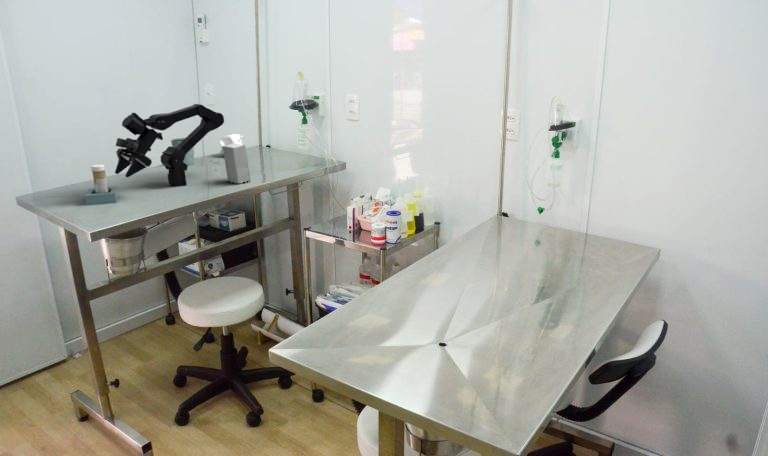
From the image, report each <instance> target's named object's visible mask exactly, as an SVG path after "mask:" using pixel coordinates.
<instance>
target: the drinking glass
mask: <svg viewBox="0 0 768 456" xmlns="http://www.w3.org/2000/svg"><path fill="white" fill-rule="evenodd" d="M185 138H186V137H179V138H172V139H171V140H170V143H171V147H176V146H178V145H179V144H180V143H181V142H182V141H183V140H184V139H185ZM194 149H195V146H194V147H193V148H192V149H191V150H190V151H189V152H188V153H187V154H186V155H185V159H184V161H183V162H184V163H185V164H187V165H188V167H189V166H193V165H195V158H194V157H195V150H194Z"/></svg>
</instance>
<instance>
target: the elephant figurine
mask: <svg viewBox="0 0 768 456" xmlns="http://www.w3.org/2000/svg"><path fill="white" fill-rule="evenodd" d="M243 137H244V135H241V134H238V133H233V134H227V135H225V136H223V137H222V138H220V140H219V145H220V148H221V149H220V151H219V154H223V156H224V152H223V146H225V145H230V144H240V145H243Z"/></svg>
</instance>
